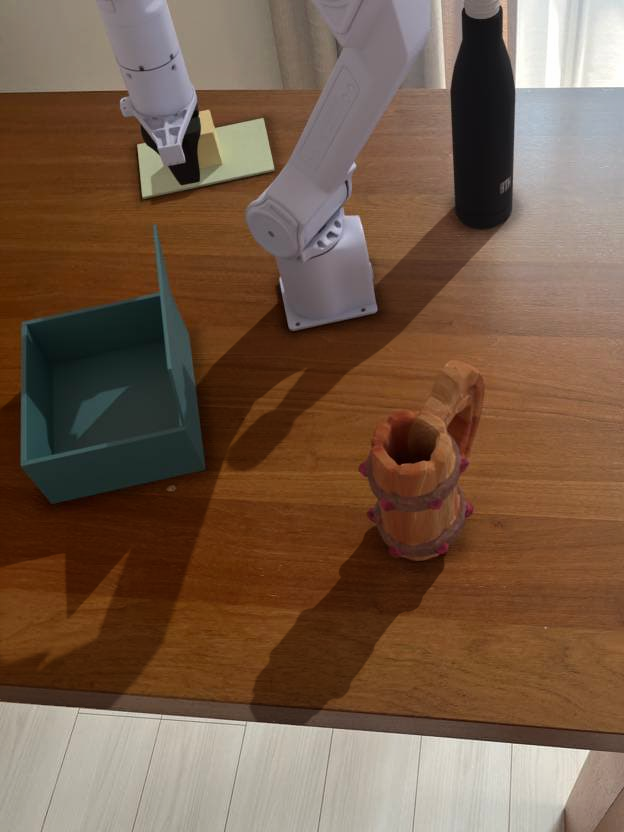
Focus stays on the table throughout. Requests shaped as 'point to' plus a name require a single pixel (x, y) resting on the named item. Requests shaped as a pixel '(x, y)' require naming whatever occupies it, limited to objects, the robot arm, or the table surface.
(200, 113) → the block
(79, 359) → the carton
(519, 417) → the table surface
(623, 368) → the table surface
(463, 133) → the black insulated flask
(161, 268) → the flap
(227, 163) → the placemat
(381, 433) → the mug
